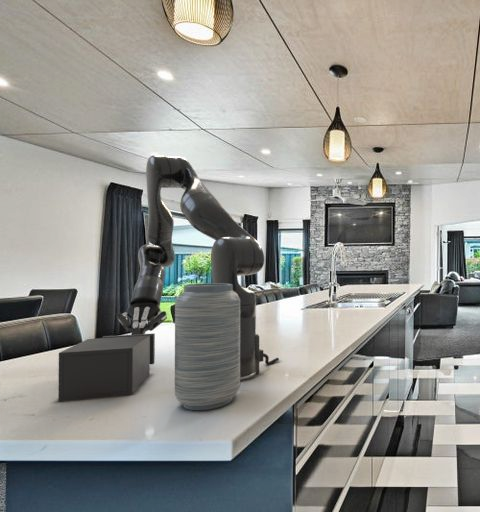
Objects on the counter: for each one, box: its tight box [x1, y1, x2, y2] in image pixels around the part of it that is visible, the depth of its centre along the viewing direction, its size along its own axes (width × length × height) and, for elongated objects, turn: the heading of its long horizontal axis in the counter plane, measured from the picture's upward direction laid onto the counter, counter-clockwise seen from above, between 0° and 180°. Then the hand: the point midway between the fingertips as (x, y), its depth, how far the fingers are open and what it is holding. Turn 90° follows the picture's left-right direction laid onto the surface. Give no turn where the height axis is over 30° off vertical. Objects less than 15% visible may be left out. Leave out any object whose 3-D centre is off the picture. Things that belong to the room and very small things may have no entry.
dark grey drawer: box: [101, 333, 156, 365], centre depth 95 cm, size 18×11×8 cm, turn 19°
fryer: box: [57, 335, 151, 403], centre depth 85 cm, size 15×13×10 cm
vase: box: [174, 282, 241, 411], centre depth 76 cm, size 12×12×23 cm
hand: (136, 342), depth 105 cm, fingers closed
